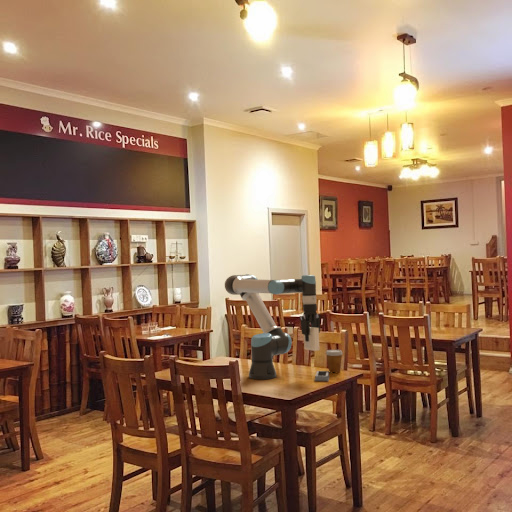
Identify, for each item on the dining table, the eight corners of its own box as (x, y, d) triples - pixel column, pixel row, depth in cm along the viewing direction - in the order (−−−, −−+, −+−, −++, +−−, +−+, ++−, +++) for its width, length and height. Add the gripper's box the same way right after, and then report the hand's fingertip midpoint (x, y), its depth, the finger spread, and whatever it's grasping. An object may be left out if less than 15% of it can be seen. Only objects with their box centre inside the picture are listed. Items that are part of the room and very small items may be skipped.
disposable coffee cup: (342, 370, 317) (342, 349, 317) (343, 373, 307) (342, 352, 307) (325, 370, 318) (325, 349, 318) (326, 373, 308) (325, 352, 308)
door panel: (304, 349, 299) (303, 327, 300) (308, 348, 301) (307, 326, 301) (314, 350, 292) (313, 328, 292) (319, 350, 294) (318, 327, 294)
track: (314, 381, 289) (314, 376, 289) (316, 375, 303) (316, 370, 303) (328, 381, 288) (328, 376, 288) (329, 375, 302) (329, 370, 302)
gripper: (302, 304, 289) (304, 349, 289) (325, 302, 299) (327, 345, 298) (293, 304, 296) (295, 348, 295) (316, 302, 305) (318, 344, 304)
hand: (311, 346), depth 296 cm, fingers closed on door panel, 3 cm apart
